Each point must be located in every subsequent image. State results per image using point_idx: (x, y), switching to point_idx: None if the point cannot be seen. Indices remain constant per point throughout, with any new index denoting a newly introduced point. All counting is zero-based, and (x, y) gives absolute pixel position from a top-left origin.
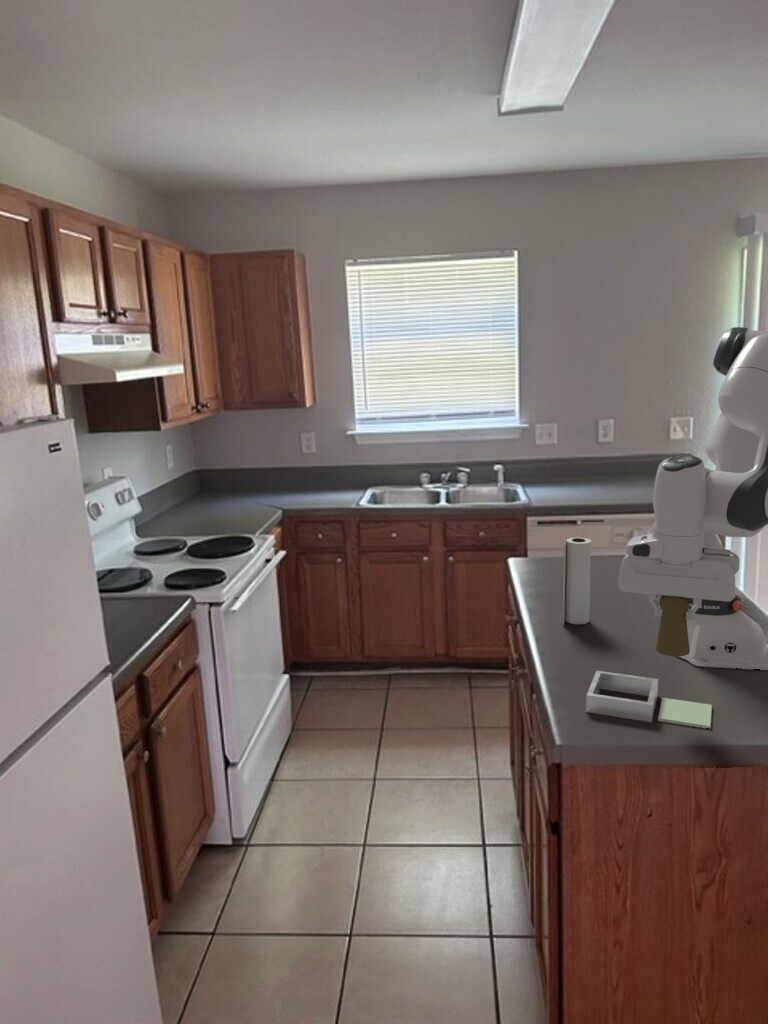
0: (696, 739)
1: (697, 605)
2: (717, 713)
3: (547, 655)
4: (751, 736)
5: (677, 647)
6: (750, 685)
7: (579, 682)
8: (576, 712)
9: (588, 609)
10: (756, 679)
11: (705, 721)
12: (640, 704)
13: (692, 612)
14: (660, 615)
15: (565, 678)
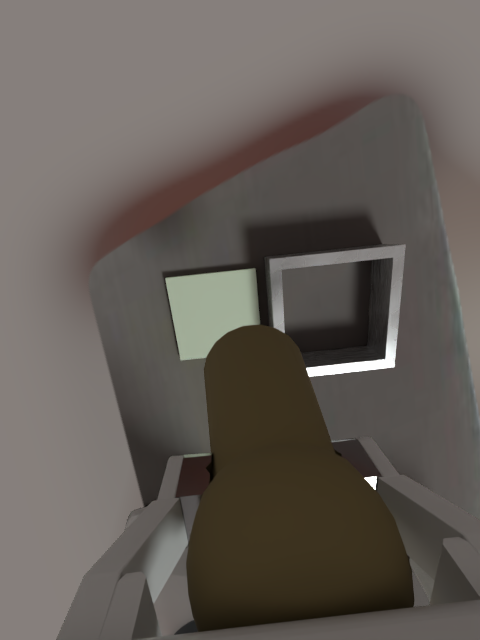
0: (179, 226)
1: (118, 559)
2: (168, 342)
3: (465, 429)
4: (99, 282)
5: (234, 344)
6: (144, 456)
7: (404, 355)
8: (399, 234)
9: (426, 585)
10: (141, 478)
11: (176, 292)
12: (293, 256)
13: (168, 496)
14: (341, 445)
15: (429, 360)
